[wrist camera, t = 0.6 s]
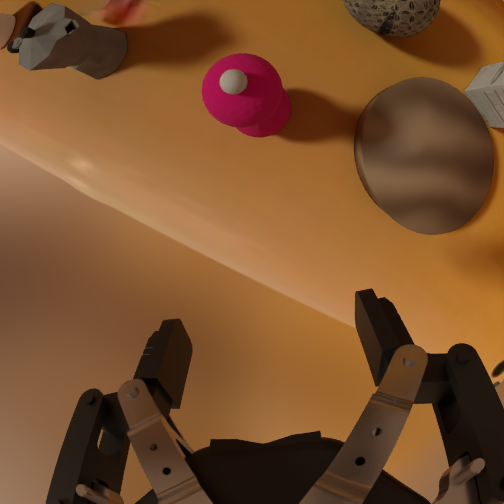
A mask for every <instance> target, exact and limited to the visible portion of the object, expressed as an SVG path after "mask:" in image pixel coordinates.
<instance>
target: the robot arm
mask: <svg viewBox="0 0 504 504" xmlns="http://www.w3.org/2000/svg"><path fill="white" fill-rule="evenodd" d="M355 324H356V329H357V332H358V335H359V337H360V340H361V343H362V346H363V349H364V352H365V355H366V358H367V361H368V364H369V367H370V370H371V373H372V376H373V379H374V383H375V386H376V387H377V386H379V387H378V390H377V391H376V393H375V394H373V395H372V397H371V398H370V400H369V402H368V404H367V405H366V407H365V409H364V411H363V413H362V415H361V416H360V418H359V420H358V422H357V423H356V425H355V427H354V428H353V430H352V432H351V434H350V435H349V437H348V438H347V440H346V442H342V441H340V440H336V439H332V438H325V437H321V433H320V431H316V432H310V433H303V434H295V435H291V436H288V437H285V438H281V439H278V440H275V441H272V442H269V443H264V444H261V443H255V442H249V441H244V440H238V439H211V442H210V446H209V447H206V448H202V449H200V450H198V451H196V452H194V451H193V449H192V448H191V447H190V446H189V444H188V443H187V442H186V440H185V438H184V437H183V435H182V433H181V432H180V430H179V429H178V427H177V425H176V424H175V422H174V421H173V419H172V417H171V416H170V414H169V413H170V409H179V408H180V404H181V400H182V395H183V391H184V386H185V382H186V378H187V374H188V369H189V365H190V361H191V356H192V343H191V340H190V338H189V336H188V334H187V332H186V330H185V328H184V326H183V324H182V322H181V320H180V319H168V320H164V321H163V322H162V324H161V326H160V329H159V331H155V332H154V333H153V335H152V336H151V337H150V338H149V339H148V342H147V344H146V347H145V348H146V349H144V352H143V356H142V357H141V359H140V362H139V365H138V367H137V370H136V372H135V375H134V378H133V379H131V380H128V381H126V382H125V383H124V384H123V385H121V387H120V388H119V390H118V392H115V393H111V394H107V395H103V394H102V392H101V391H100V390H98V389H89V390H87V391H86V392H84V393H83V394H82V395H81V397H80V399H79V401H78V404H77V406H76V409H75V412H74V414H73V417H72V419H71V422H70V425H69V428H68V430H67V433H66V436H65V439H64V442H63V445H62V448H61V451H60V454H59V457H58V460H57V464H56V467H55V471H54V474H53V477H52V481H51V484H50V488H49V492H48V496H47V500H46V504H124V501H123V499H122V497H121V496H120V491H121V486H122V480H123V475H124V470H125V465H126V460H127V455H128V451H129V446H130V442H131V444H132V446H133V448H134V451H135V453H136V455H137V458H138V460H139V462H140V464H141V466H142V468H143V470H144V472H145V474H146V476H147V478H148V480H149V482H150V484H151V486H152V488H153V489H152V490H150V491H149V492H148V493H147V494H146V495H145V496H143V497H142V498H141V499H140V500H139V501H137V502H136V503H135V504H431V503H430V502H429V501H428V500H427V499H426V498H424V497H423V496H421V495H420V494H418V493H417V492H415V491H413V490H412V489H410V488H409V487H407V486H406V485H404V484H403V483H401V482H400V481H399V480H397V479H396V478H394V477H393V476H391V475H390V474H388V473H387V472H386V471H384V470H383V467H384V466H385V464H386V462H387V460H388V458H389V456H390V454H391V452H392V450H393V448H394V446H395V444H396V442H397V440H398V438H399V436H400V433H401V431H402V429H403V427H404V425H405V422H406V420H407V418H408V415H409V413H410V411H411V408H412V405H413V404H426V403H427V404H428V403H432V406H433V409H434V412H435V415H436V419H437V422H438V425H439V429H440V432H441V436H442V440H443V443H444V447H445V451H446V455H447V459H448V464H449V468H448V469H447V470H446V471H445V472H444V473H443V475H442V476H441V479H440V481H439V493H438V496H437V498H436V499H435V501H434V502H433V503H432V504H503V503H504V408H503V406H502V403H501V401H500V399H499V397H498V394H497V392H496V390H495V387H494V385H493V383H492V381H491V379H490V377H489V375H488V373H487V371H486V369H485V367H484V365H483V363H482V361H481V359H480V357H479V355H478V353H477V351H476V350H475V349H474V348H473V347H472V346H470V345H468V344H464V343H460V344H456V345H454V346H452V347H451V348H450V349H449V351H448V353H445V354H430V353H426V352H425V350H424V349H422V348H421V347H419V346H417V345H415V344H414V342H413V340H412V338H411V337H410V335H409V333H408V331H407V329H406V327H405V325H404V323H403V321H402V320H401V317H400V316H399V314H398V313H397V310H396V308H395V306H394V305H393V303H392V302H390V301H389V300H388V299H386V298H385V297H383V298H379V299H378V298H377V296H376V295H375V293H374V291H373V289H372V288H371V289H366V290H361V291H356V292H355ZM101 429H102V430H103V434H102V438H101V441H100V445H99V449H98V447H97V442H98V439H99V435H100V432H101Z"/></svg>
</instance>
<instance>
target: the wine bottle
mask: <svg viewBox="0 0 504 504" xmlns="http://www.w3.org/2000/svg"><path fill="white" fill-rule="evenodd" d="M14 27H15V17H14V16H13V15H10V14H5V13H0V49H1V48H2V47H3V46H4V45H5V44H6V43H7V42H8V40H9V38H10V37H11V35H12V33H13V30H14Z"/></svg>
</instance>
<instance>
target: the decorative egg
mask: <svg viewBox="0 0 504 504" xmlns="http://www.w3.org/2000/svg"><path fill="white" fill-rule="evenodd" d="M343 2H344V4H345V6H346V8H347V10H348V11H349V13H350V14H351V15H352V16H353V17H354V18H355V20H357V21H358V22H359V23H360V24H361V25H362V26H364V27H366V28H367V29H369V30H371V31H373V32H375V33H378V34H380V35H384V36H389V37H407V36H412V35H415V34H417V33H419V32H421V31H423V30H424V29H425V28H427V27H428V26H429V25H430V24H431V22H432V21H433V20H434V18H435V17H436V15H437V12H438V10H439V5H440V0H343Z"/></svg>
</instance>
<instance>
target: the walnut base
mask: <svg viewBox="0 0 504 504" xmlns="http://www.w3.org/2000/svg"><path fill="white" fill-rule="evenodd" d="M354 155H355V163H356V167H357V171H358V174H359V177H360V180H361V182H362V184H363V186H364V188H365V190H366V191H367V193H368V194H369V196H370V197H371V198H372V200H373V201H374V202H375V203H376V204H377V205H378V206H379V207H380V208H381V209H382V210H383V211H384V212H386V213H387V214H388V215H389V216H390V217H391V218H393V219H394V220H395V221H396V222H398V223H399V224H400V225H402V226H404V227H406V228H407V229H409V230H412V231H415V232H417V233H422V234H430V235H436V234H444V233H447V232H451V231H453V230H455V229H458V228H459V227H461V226H462V225H464V224H465V223H467V222H468V221H469V220H470V219H471V218H472V217H473V216H474V215H475V214H476V213H477V211H478V210H479V209H480V207H481V206H482V204H483V202H484V200H485V198H486V196H487V194H488V191H489V188H490V185H491V181H492V175H493V149H492V143H491V139H490V135H489V132H488V129H487V127H486V124H485V122H484V120H483V118H482V116H481V115H480V113H479V111H478V110H477V108H476V107H475V106H474V105H473V103H472V102H471V101H470V100H469V99H468V98H467V97H466V96H465V95H464V94H463V93H462V92H460V91H459V90H458V89H456V88H455V87H453V86H451V85H450V84H448V83H445V82H443V81H441V80H437V79H433V78H425V77H419V78H411V79H407V80H404V81H401V82H399V83H397V84H395V85H393V86H391V87H389V88H387V89H385V90H383V91H382V92H380V93H378V94H377V95H376V96H375V97H374V98H373V99H372V100H371V101H370V102H369V103H368V105H367V106H366V107H365V109H364V111H363V112H362V114H361V116H360V119H359V121H358V124H357V128H356V132H355V139H354Z"/></svg>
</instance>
